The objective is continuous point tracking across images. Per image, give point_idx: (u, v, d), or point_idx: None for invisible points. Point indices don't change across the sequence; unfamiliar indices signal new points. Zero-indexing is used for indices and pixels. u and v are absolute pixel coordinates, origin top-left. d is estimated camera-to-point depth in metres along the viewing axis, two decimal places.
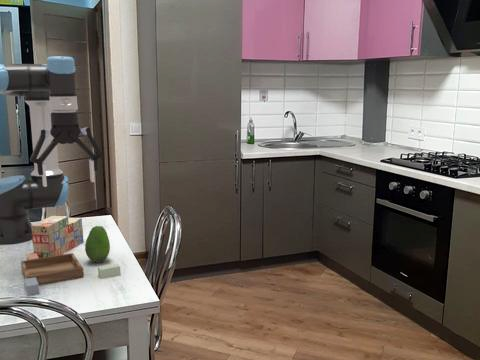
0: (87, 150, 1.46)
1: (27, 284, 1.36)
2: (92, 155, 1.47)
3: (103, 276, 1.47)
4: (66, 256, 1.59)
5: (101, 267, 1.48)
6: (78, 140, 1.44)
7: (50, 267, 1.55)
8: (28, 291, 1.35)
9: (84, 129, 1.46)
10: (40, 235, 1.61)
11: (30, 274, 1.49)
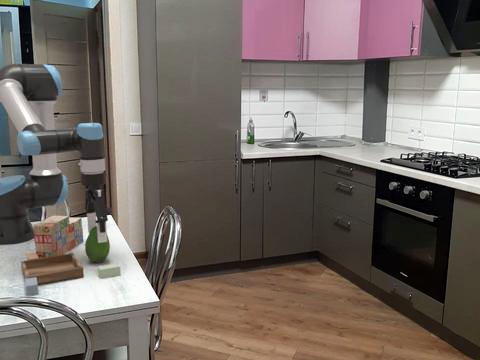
0: (95, 211, 1.53)
1: (26, 284, 1.36)
2: (97, 217, 1.52)
3: (103, 276, 1.47)
4: (66, 256, 1.59)
5: (101, 267, 1.48)
6: (91, 200, 1.54)
7: (50, 267, 1.55)
8: (27, 291, 1.35)
9: None
10: (43, 234, 1.61)
11: (30, 274, 1.49)
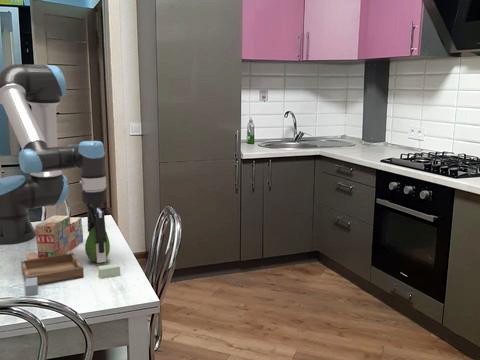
0: (95, 231, 1.56)
1: (26, 284, 1.36)
2: (96, 237, 1.55)
3: (102, 276, 1.47)
4: (66, 256, 1.59)
5: (101, 267, 1.49)
6: (92, 219, 1.56)
7: (50, 267, 1.55)
8: (26, 291, 1.35)
9: (97, 211, 1.54)
10: (45, 234, 1.61)
11: (30, 274, 1.49)
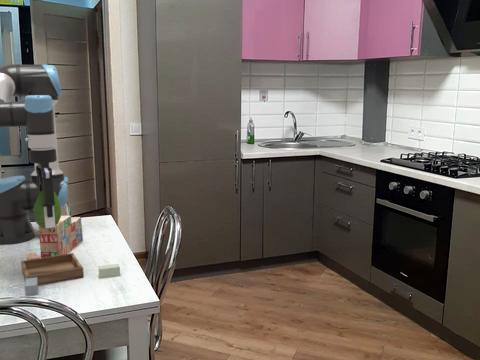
0: (43, 193, 1.42)
1: (26, 284, 1.36)
2: (44, 200, 1.42)
3: (102, 276, 1.47)
4: (66, 256, 1.59)
5: (101, 267, 1.49)
6: (39, 180, 1.43)
7: (50, 267, 1.55)
8: (26, 291, 1.35)
9: None
10: (48, 234, 1.61)
11: (30, 274, 1.49)
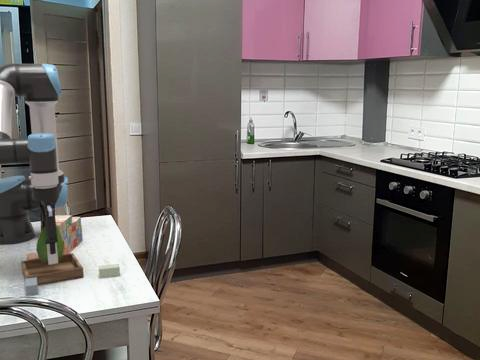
0: (46, 230, 1.44)
1: (26, 284, 1.36)
2: (47, 237, 1.44)
3: (102, 276, 1.48)
4: (66, 256, 1.59)
5: (101, 266, 1.49)
6: (42, 217, 1.45)
7: (50, 267, 1.55)
8: (27, 291, 1.35)
9: None
10: None
11: (30, 274, 1.49)
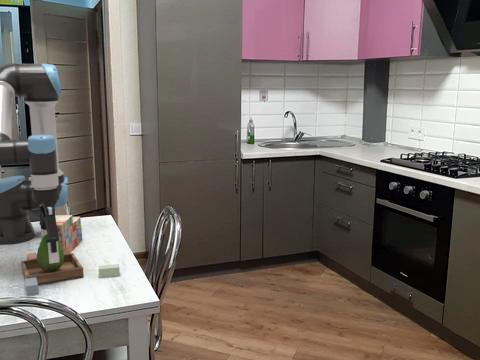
0: (46, 230, 1.43)
1: (27, 284, 1.36)
2: (48, 236, 1.42)
3: (101, 276, 1.48)
4: (66, 256, 1.59)
5: (101, 266, 1.49)
6: (42, 218, 1.44)
7: None
8: (27, 291, 1.35)
9: None
10: None
11: (30, 274, 1.49)
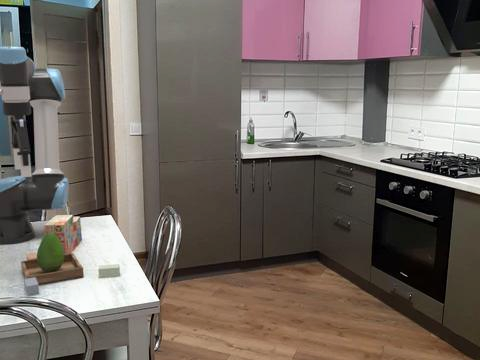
0: (18, 143, 1.41)
1: (27, 284, 1.36)
2: (19, 149, 1.40)
3: (101, 275, 1.48)
4: (66, 256, 1.59)
5: (101, 266, 1.49)
6: (14, 131, 1.42)
7: None
8: (28, 291, 1.35)
9: None
10: (55, 233, 1.62)
11: (30, 274, 1.49)
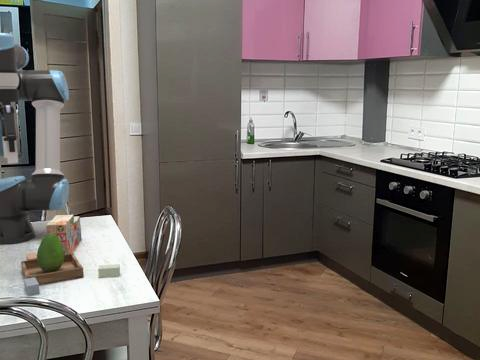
0: (5, 129, 1.41)
1: (27, 284, 1.36)
2: None
3: (101, 275, 1.48)
4: (66, 256, 1.59)
5: (101, 266, 1.49)
6: (1, 117, 1.42)
7: None
8: (29, 291, 1.35)
9: None
10: (57, 233, 1.62)
11: (30, 274, 1.49)
